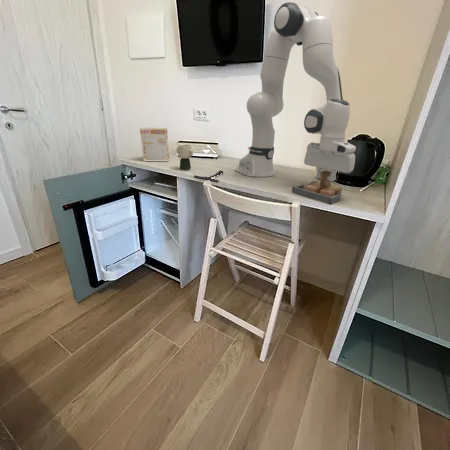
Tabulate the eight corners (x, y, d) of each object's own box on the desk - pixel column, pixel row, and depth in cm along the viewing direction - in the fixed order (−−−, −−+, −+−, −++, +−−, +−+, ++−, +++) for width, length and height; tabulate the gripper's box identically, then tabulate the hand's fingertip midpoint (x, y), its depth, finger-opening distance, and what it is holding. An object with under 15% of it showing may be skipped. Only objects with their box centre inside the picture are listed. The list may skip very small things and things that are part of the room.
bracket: (233, 177, 135) (233, 172, 134) (217, 183, 124) (217, 178, 122) (211, 173, 142) (210, 168, 141) (193, 179, 131) (193, 173, 129)
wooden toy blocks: (309, 189, 116) (310, 171, 111) (313, 186, 117) (314, 168, 112) (337, 197, 107) (339, 177, 102) (341, 194, 109) (343, 174, 103)
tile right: (318, 197, 108) (320, 190, 106) (324, 194, 110) (325, 188, 109) (328, 200, 105) (330, 192, 103) (334, 197, 107) (335, 190, 106)
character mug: (197, 169, 146) (196, 145, 140) (189, 172, 140) (188, 147, 135) (181, 166, 151) (180, 143, 145) (173, 169, 145) (172, 145, 140)
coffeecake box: (169, 159, 168) (167, 127, 160) (167, 162, 162) (165, 128, 153) (146, 159, 168) (142, 127, 159) (143, 161, 161) (139, 128, 153)
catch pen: (291, 192, 112) (292, 187, 111) (301, 189, 116) (302, 184, 115) (330, 204, 100) (331, 198, 98) (339, 200, 104) (340, 194, 103)
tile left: (304, 193, 112) (305, 186, 111) (310, 191, 115) (311, 184, 114) (314, 195, 109) (315, 188, 108) (319, 193, 112) (321, 186, 111)
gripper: (303, 142, 107) (299, 175, 113) (352, 149, 94) (344, 186, 100) (312, 141, 111) (307, 173, 117) (360, 147, 97) (351, 183, 103)
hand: (324, 179), depth 108 cm, fingers closed on wooden toy blocks, 3 cm apart
